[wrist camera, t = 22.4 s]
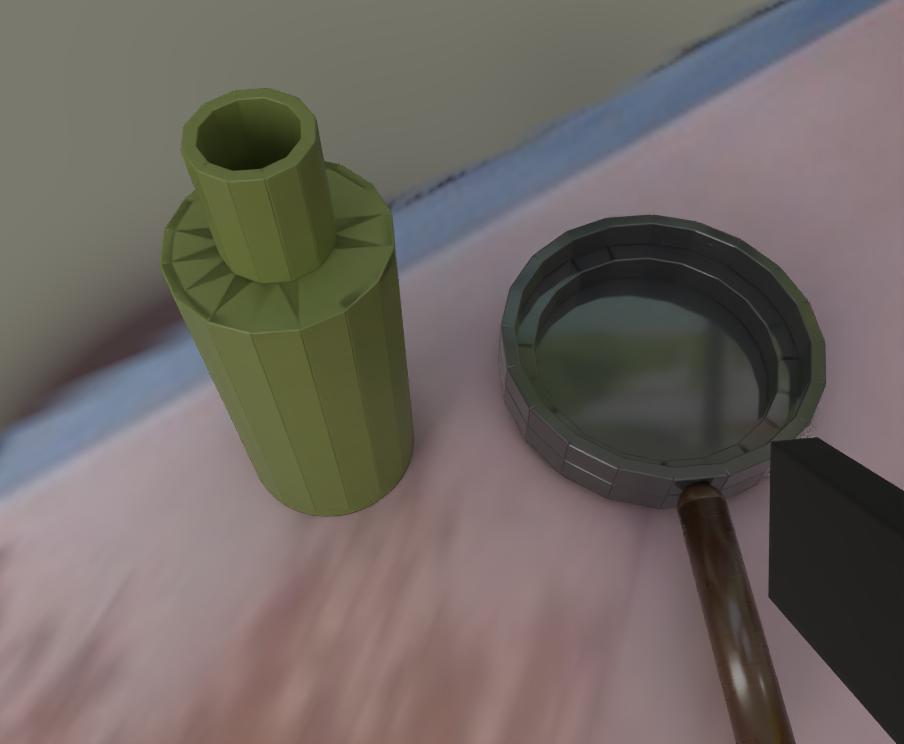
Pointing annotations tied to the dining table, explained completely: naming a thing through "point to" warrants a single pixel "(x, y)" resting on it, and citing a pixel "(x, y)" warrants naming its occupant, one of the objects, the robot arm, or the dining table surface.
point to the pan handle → (732, 619)
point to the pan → (658, 358)
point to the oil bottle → (293, 302)
